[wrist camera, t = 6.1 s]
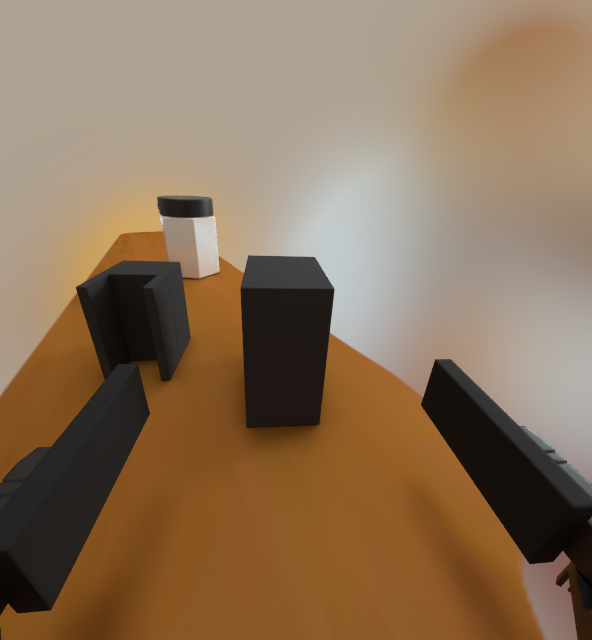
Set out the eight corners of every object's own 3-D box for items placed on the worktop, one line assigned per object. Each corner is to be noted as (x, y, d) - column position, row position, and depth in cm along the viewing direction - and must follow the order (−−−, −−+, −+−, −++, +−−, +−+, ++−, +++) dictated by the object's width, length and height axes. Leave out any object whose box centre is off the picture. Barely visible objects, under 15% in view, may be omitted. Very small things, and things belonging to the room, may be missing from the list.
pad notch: (170, 380, 23) (152, 287, 20) (105, 381, 23) (75, 287, 19) (190, 337, 29) (180, 261, 26) (140, 338, 29) (122, 260, 25)
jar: (197, 262, 55) (190, 195, 50) (229, 270, 51) (224, 198, 46) (156, 272, 48) (142, 196, 43) (189, 282, 44) (178, 200, 39)
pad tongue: (319, 424, 20) (334, 288, 15) (246, 427, 19) (240, 287, 15) (302, 348, 28) (309, 248, 24) (252, 348, 28) (250, 246, 24)
